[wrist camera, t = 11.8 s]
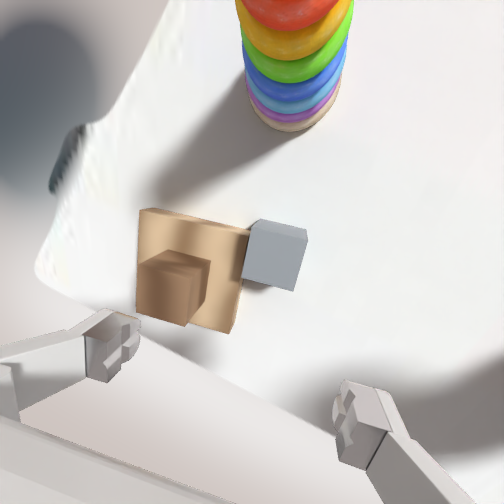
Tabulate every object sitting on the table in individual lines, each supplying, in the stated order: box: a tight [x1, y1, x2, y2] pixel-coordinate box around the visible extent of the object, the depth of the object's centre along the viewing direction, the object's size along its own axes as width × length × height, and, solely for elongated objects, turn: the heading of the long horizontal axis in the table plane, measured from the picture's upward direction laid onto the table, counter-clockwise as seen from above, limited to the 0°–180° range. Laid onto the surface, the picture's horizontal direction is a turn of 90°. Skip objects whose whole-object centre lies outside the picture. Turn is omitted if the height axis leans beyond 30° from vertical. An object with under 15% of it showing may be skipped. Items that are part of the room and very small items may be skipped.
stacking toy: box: [235, 0, 354, 132], centre depth 12 cm, size 8×8×19 cm
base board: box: [136, 208, 251, 334], centre depth 27 cm, size 12×12×2 cm
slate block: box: [241, 219, 308, 291], centre depth 23 cm, size 5×5×5 cm
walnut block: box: [136, 249, 211, 327], centre depth 23 cm, size 5×5×5 cm
